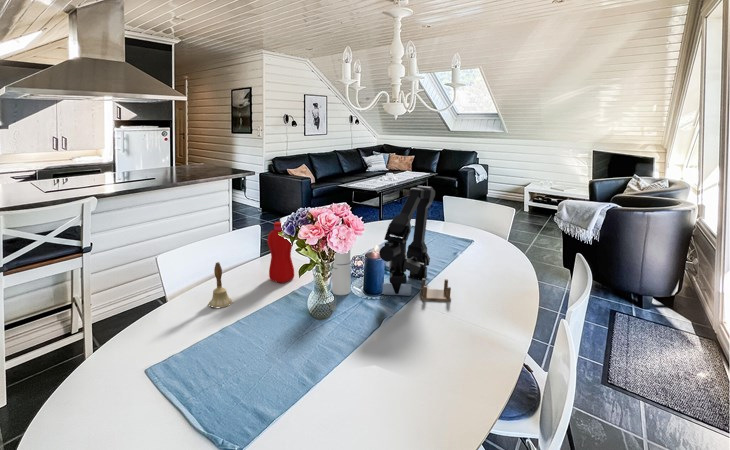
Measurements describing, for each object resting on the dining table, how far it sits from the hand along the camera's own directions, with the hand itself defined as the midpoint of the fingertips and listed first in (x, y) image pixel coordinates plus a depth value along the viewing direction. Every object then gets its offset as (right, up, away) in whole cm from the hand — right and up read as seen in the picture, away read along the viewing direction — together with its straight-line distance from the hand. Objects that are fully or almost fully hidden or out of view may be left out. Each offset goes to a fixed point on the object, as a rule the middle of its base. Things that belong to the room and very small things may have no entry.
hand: (396, 291), depth 151 cm
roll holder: (+15, -2, 0) cm, 15 cm away
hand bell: (-66, -3, -9) cm, 66 cm away
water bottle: (-47, +3, +14) cm, 49 cm away
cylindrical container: (-22, -1, +3) cm, 22 cm away
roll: (0, -1, 0) cm, 2 cm away
